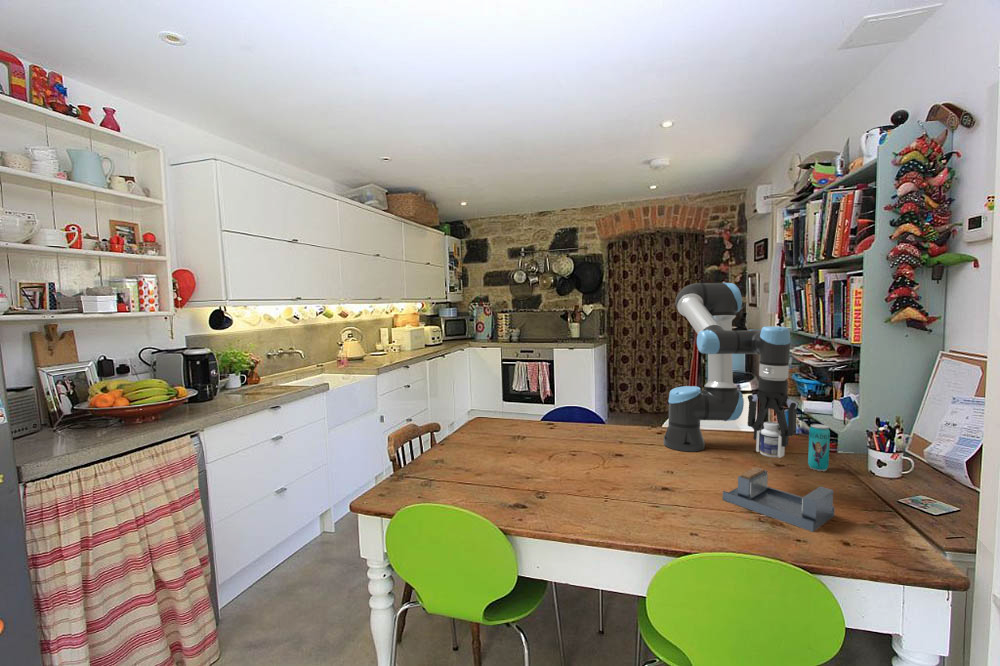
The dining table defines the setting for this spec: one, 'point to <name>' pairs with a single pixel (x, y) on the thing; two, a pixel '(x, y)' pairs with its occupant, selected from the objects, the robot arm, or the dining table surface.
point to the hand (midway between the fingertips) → (769, 453)
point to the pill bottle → (769, 439)
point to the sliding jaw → (752, 483)
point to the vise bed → (789, 506)
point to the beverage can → (819, 447)
